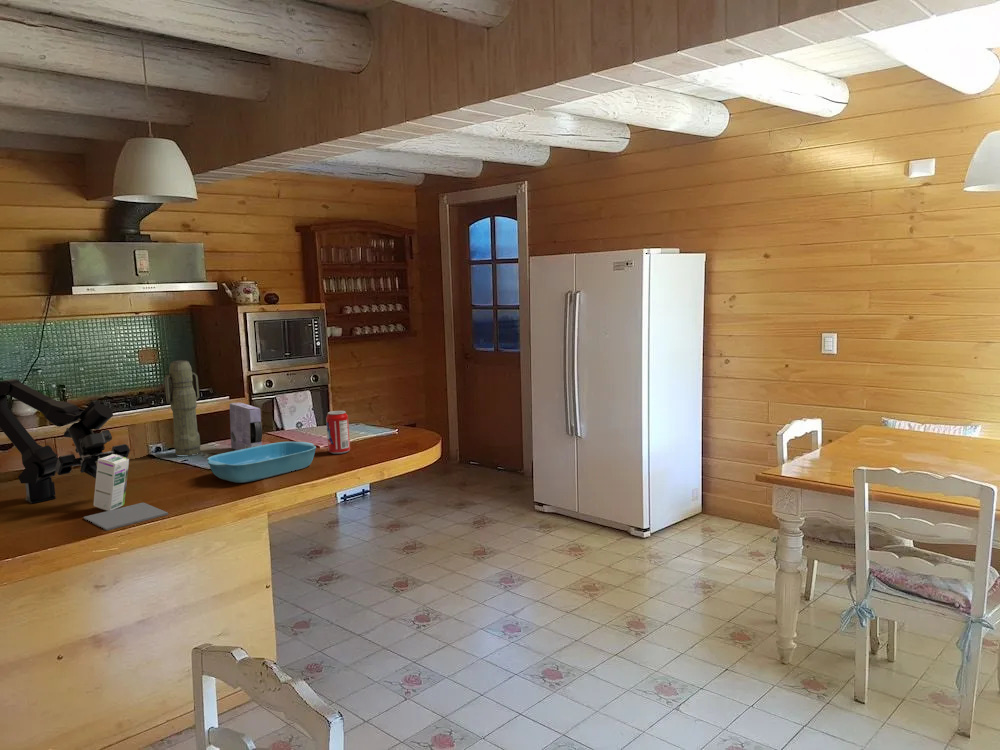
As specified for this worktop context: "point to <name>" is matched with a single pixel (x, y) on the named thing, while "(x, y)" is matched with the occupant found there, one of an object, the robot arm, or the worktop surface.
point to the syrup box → (111, 482)
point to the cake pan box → (245, 426)
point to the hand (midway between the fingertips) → (104, 482)
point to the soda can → (338, 432)
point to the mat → (125, 516)
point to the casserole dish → (262, 461)
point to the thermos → (183, 406)
